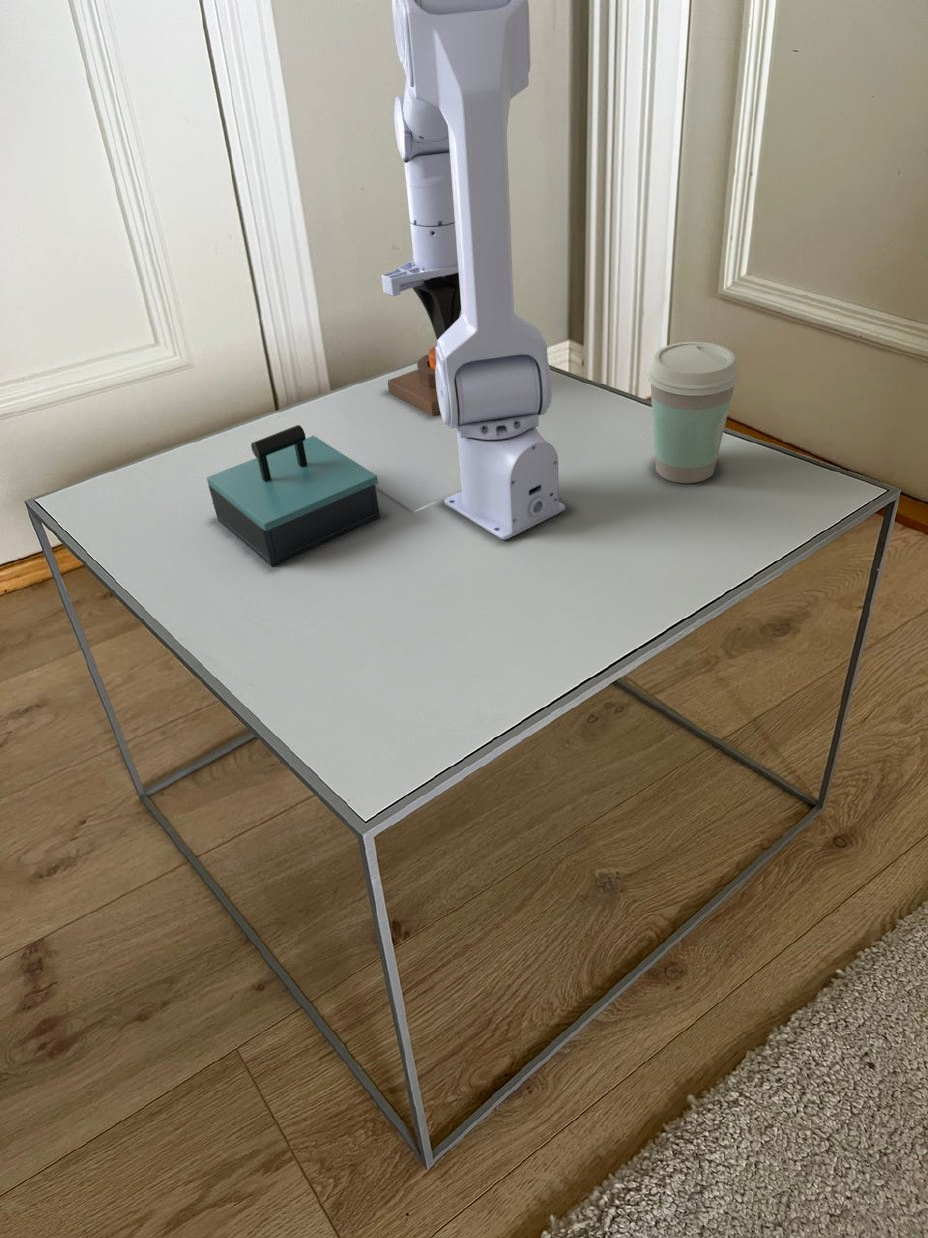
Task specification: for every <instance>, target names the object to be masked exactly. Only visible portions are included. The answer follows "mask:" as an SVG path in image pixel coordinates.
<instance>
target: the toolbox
mask: <svg viewBox="0 0 928 1238" xmlns="http://www.w3.org/2000/svg"><path fill="white" fill-rule="evenodd" d="M250 447H251V451H252V454H253V455H254V456H255V458H252V459H249V460H248V461H245V462H242V463H240V464H237V465H235V466H231V467H229V468H226V469H224V470H221V471H220V472H217V473H214V474H212V475H208V476H207V477H206V481H207V484H208V486H209V485H210V486H211V487H212V488H214V489H215V490H216V491H217V492H218V493H220V494H221V495H222V496H223V497H225V498H226V499H227V500H228V501H229V502H231V503H232V504H233V505H234V506H236V507H237V508H238V509H239V510H241V511H242V512H243V513H244V514H245V515H247V516H248V517H249V518H250V519H252V520H253V521H254V522H255V523H256V524H258V525H259V526H260V527H261V528H263V529H264V530H265V531H268V530H270V529H273V528H275V527H277V526H280V525H282V524H284V523H287V522H289V521H291V520H294V519H296V518H298V517H300V516H303V515H305V514H307V513H310V512H312V511H314V510H317V509H319V508H321V507H324V506H326V505H328V504H330V503H333V502H335V501H337V500H340V499H342V498H344V497H347V496H349V495H351V494H354V493H356V492H358V491H360V490H363V489H365V488H367V487H370V486H372V485H374V484H375V485H377V484H379V480H378V475H377V474H375V473H373V472H372V471H370V470H369V469H367V468H366V467H364V466H362V465H361V464H359V463H358V462H356V461H354V460H353V459H351V458H350V457H348V456H347V455H346V454H343V453H342V452H340V451H339V450H337V449H336V448H334V447H332V446H331V445H329V443H326V442H325V441H323V440H322V439H320V438H318V437H317V436H316V435H312V436H309V437H306V432H305V431H304V428H303V427H302V426H301V425H300V424H296V425H294V426H292V427H288V428H286V429H283V430H280V431H277V432H276V433H272V434H271V435H268V436H264V437H263V438H260V439H257V440H255V441H253V442H251V443H250Z"/></svg>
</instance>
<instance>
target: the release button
mask: <svg viewBox="0 0 928 1238" xmlns="http://www.w3.org/2000/svg"><path fill="white" fill-rule="evenodd" d="M436 346H437V345H436ZM436 346H433V347H432V348H430V349H429V350H428V354H429V363H430V368H432V369H434V370H435V367H436V350H435V348H436Z"/></svg>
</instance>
